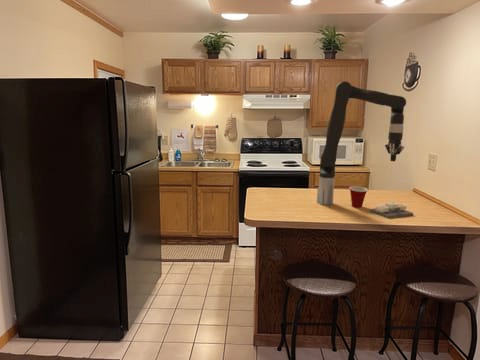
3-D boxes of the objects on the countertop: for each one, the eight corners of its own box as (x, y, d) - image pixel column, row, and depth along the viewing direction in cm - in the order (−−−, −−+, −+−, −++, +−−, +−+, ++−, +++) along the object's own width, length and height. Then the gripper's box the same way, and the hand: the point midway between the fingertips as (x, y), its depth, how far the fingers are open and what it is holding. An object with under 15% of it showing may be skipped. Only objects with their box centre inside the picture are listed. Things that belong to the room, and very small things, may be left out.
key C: (399, 212, 194) (400, 206, 194) (393, 210, 199) (394, 204, 198) (406, 212, 196) (406, 205, 195) (399, 209, 200) (400, 203, 199)
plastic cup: (350, 209, 204) (351, 189, 201) (345, 204, 214) (347, 185, 212) (368, 209, 203) (370, 190, 201) (363, 204, 214) (364, 186, 211)
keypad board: (387, 218, 186) (388, 211, 185) (369, 211, 199) (370, 204, 198) (412, 215, 192) (413, 208, 191) (394, 208, 205) (394, 202, 204)
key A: (381, 214, 190) (382, 207, 189) (376, 212, 194) (376, 205, 193) (388, 214, 192) (388, 207, 191) (382, 211, 196) (383, 205, 195)
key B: (391, 211, 192) (391, 204, 191) (385, 209, 196) (385, 202, 195) (397, 210, 193) (398, 203, 193) (391, 208, 198) (392, 201, 197)
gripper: (382, 131, 202) (379, 160, 205) (399, 132, 189) (396, 163, 193) (392, 131, 204) (389, 159, 207) (409, 132, 192) (406, 162, 195)
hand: (392, 161), depth 200 cm, fingers closed
